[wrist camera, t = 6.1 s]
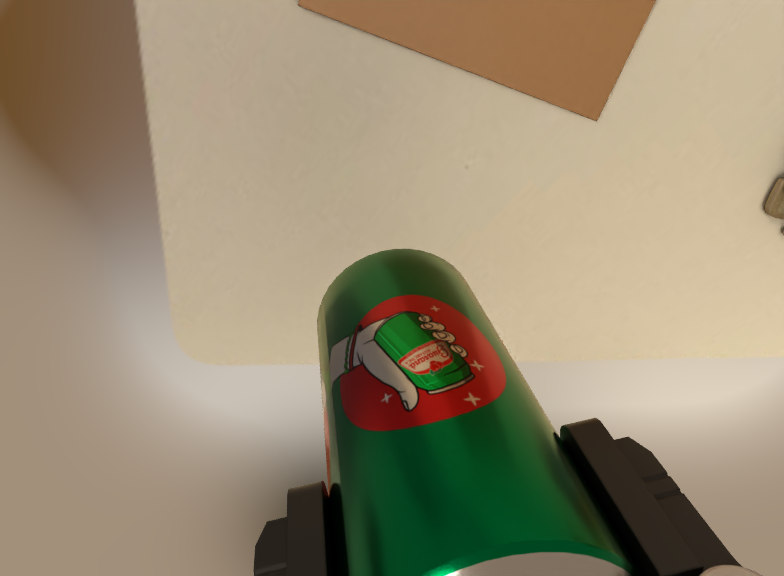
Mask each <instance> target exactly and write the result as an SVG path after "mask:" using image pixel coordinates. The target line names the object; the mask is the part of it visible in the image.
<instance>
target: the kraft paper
mask: <svg viewBox="0 0 784 576" xmlns="http://www.w3.org/2000/svg"><path fill="white" fill-rule="evenodd" d="M655 1H656V0H299V3H298V5H299V6H302V7H304V8H307V9H309V10H312V11H314V12H317V13H320V14H322V15H325V16H327V17H330V18H332V19H335V20H338V21H340V22H343V23H345V24H348V25H350V26H353V27H356V28H358V29H361V30H363V31H366V32H369V33H371V34H374V35H376V36H379V37H381V38H384V39H387V40H389V41H392V42H394V43H397V44H399V45H402V46H405V47H407V48H410V49H412V50H415V51H418V52H420V53H423V54H425V55H428V56H430V57H433V58H436V59H438V60H441V61H443V62H446V63H448V64H451V65H454V66H456V67H459V68H461V69H464V70H466V71H469V72H472V73H474V74H477V75H479V76H482V77H485V78H487V79H490V80H492V81H495V82H497V83H500V84H503V85H505V86H508V87H510V88H513V89H515V90H518V91H521V92H523V93H526V94H528V95H531V96H534V97H536V98H539V99H541V100H544V101H546V102H549V103H552V104H554V105H557V106H559V107H562V108H564V109H567V110H570V111H572V112H575V113H577V114H580V115H582V116H585V117H588V118H590V119H593V120H595V121H597V120H598V117H599V115H600V113H601V111H602V109H603V107H604V105H605V103H606V101H607V99H608V97H609V95H610V93H611V91H612V89H613V87H614V85H615V83H616V81H617V79H618V77H619V75H620V73H621V71H622V69H623V66H624V64H625V62H626V60H627V58H628V56H629V54H630V52H631V50H632V48H633V46H634V44H635V42H636V40H637V38H638V36H639V34H640V32H641V30H642V28H643V26H644V24H645V22H646V20H647V18H648V16H649V13H650V11H651V9H652V7H653V5H654V3H655Z"/></svg>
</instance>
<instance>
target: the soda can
mask: <svg viewBox="0 0 784 576" xmlns="http://www.w3.org/2000/svg"><path fill="white" fill-rule="evenodd" d="M317 330H318V345H319V359H320V374H321V388H322V402H323V417H324V430H325V446H326V459H327V474H328V489H329V503H330V517H331V531H332V546H333V560H334V574H335V576H642V575H641V573H640V571H639V570H638V568H637V566H636V565H635V563H634V561H633V560H632V558H631V556H630V554H629V553H628V551H627V549H626V548H625V546H624V544H623V543H622V541H621V539H620V538H619V536H618V534H617V533H616V531H615V529H614V528H613V526H612V524H611V523H610V521H609V519H608V518H607V516H606V514H605V513H604V511H603V509H602V508H601V506H600V504H599V503H598V501H597V499H596V498H595V496H594V494H593V493H592V491H591V489H590V488H589V486H588V484H587V483H586V481H585V479H584V477H583V476H582V474H581V472H580V471H579V469H578V467H577V466H576V464H575V462H574V461H573V459H572V457H571V456H570V454H569V452H568V451H567V449H566V447H565V446H564V444H563V442H562V441H561V439H560V437H559V436H558V434H557V432H556V431H555V429H554V427H553V426H552V424H551V422H550V421H549V419H548V417H547V416H546V414H545V412H544V411H543V409H542V407H541V406H540V404H539V402H538V400H537V399H536V397H535V395H534V394H533V392H532V390H531V389H530V387H529V385H528V384H527V382H526V380H525V379H524V377H523V375H522V374H521V372H520V371H519V369H518V367H517V365H516V364H515V362H514V360H513V359H512V357H511V355H510V354H509V352H508V350H507V349H506V347H505V345H504V344H503V342H502V340H501V339H500V337H499V335H498V334H497V332H496V330H495V329H494V327H493V325H492V323H491V322H490V320H489V318H488V317H487V315H486V313H485V312H484V310H483V308H482V307H481V305H480V303H479V302H478V300H477V298H476V297H475V295H474V293H473V292H472V290H471V288H470V287H469V285H468V283H467V282H466V280H465V279H464V277H463V276H462V275H461V273H460V272H459V271H458V270H457V269H456V268H455V267H454V266H452V265H451V264H450V263H448V262H447V261H445V260H444V259H442V258H440V257H438V256H436V255H434V254H431V253H427V252H424V251H421V250H413V249H392V250H386V251H381V252H378V253H375V254H372V255H369V256H367V257H364V258H362V259H360V260H358V261H356V262H355V263H354V264H352V265H351V266H349V267H348V268H346V269H345V270H344V271H343V272H342V273H341V274H340V275H339V276H337V277H336V279H335V280H334V281H333V283H332V284H331V285H330V286H329V288H328V290H327V291H326V293H325V295H324V297H323V299H322V302H321V305H320V308H319V313H318V319H317Z"/></svg>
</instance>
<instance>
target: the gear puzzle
mask: <svg viewBox="0 0 784 576" xmlns="http://www.w3.org/2000/svg"><path fill="white" fill-rule="evenodd" d="M765 211H766V213H767V214H769V215H771V216H773V217H775V218H780V219H784V178H780V179H778V181H777V182H776V184H775V186H774V188H773V190H772V192H771V194H770V195H769V197H768V199H767V201H766V204H765ZM783 235H784V231H783Z"/></svg>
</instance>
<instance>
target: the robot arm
mask: <svg viewBox="0 0 784 576" xmlns="http://www.w3.org/2000/svg"><path fill="white" fill-rule="evenodd" d="M560 439H561V441H562V442H563V444H564V446H565V447H566V449H567V451H568V452H569V454H570V456H571V457H572V459H573V461H574V462H575V464H576V466H577V467H578V469H579V471H580V472H581V474H582V476H583V477H584V479H585V481H586V483H587V484H588V486H589V488H590V489H591V491H592V493H593V494H594V496H595V498H596V499H597V501H598V503H599V504H600V506H601V508H602V509H603V511H604V513H605V514H606V516H607V518H608V519H609V521H610V523H611V524H612V526H613V528H614V529H615V531H616V533H617V534H618V536H619V538H620V539H621V541H622V543H623V544H624V546H625V548H626V549H627V551H628V553H629V554H630V556H631V558H632V560H633V561H634V563H635V565H636V566H637V568H638V570H639V571H640V573H641V575H642V576H762V575H760V574H758V573H757V572H754V571H752V570H750V569H747V568H744V567H742V566H741V565H740V564H739V563H738V562H737V561H736V560H735V559H734V558H733V556H732V555H731V554H730V553H729V551H728V550H727V549H726V548H725V546H724V545H723V544H722V542H721V541H720V540H719V539H718V537H717V536H716V535H715V533H714V532H713V531H712V530H711V529H710V527H709V526H708V524H707V523H706V522H705V520H704V519H703V518H702V517H701V516H700V514H699V513H698V511H697V510H696V509H695V508H694V507H693V505H692V504H691V502H690V501H689V500H688V499H687V497H686V496H685V495H684V494H682V493H681V492H680V488H679V487H678V486H677V484H676V483H675V482H674V481H673V479H672V478H671V477H670V476H668V475H667V472H666V470H665V469H664V468H663V466H662V465H661V464H660V463H659V461H658V460H657V459H656V458H655V456H654V455H653V454H652V452H651V451H649V450H648V449H646V448H644V447H643V446H642V445H640V444H639V443H637V442H636V441H634V440H633V439H631V438H629V437H625V438H621V439H616V440H614V439H613V438H612V437H611V435H610V434H609V432H608V431H607V430H606V428H605V427H604V426H603V424H602V423H601V421H600V420H598V419H597V418H593V419H588V420H584V421H580V422H576V423H571V424H567V425H563V426H561V429H560ZM254 576H335V574H334V560H333V546H332V531H331V517H330V503H329V495H328V492H327V489H326V486H325V483H324V481H321V482H317V483H312V484H308V485H304V486H300V487H295V488H291V489H289V490H288V495H287V517H285V518H280V519H276V520H272V521H268V522H267V523H266V525H265V527H264V529H263V531H262V533H261V535H260V537H259V540H258V542H257V544H256V546H255V559H254Z"/></svg>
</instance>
